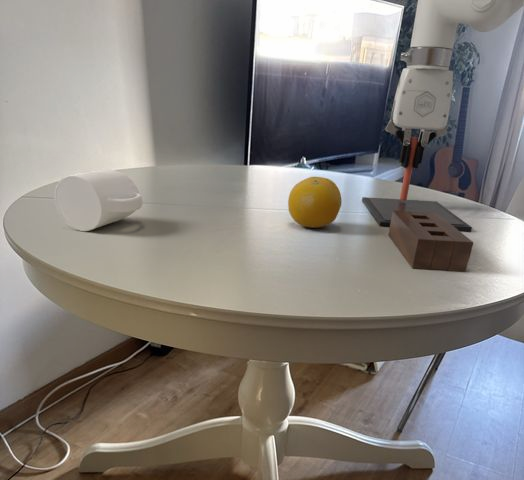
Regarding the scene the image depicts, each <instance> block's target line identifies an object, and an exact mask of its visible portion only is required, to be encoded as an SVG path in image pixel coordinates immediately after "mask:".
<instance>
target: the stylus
mask: <svg viewBox="0 0 524 480" xmlns="http://www.w3.org/2000/svg"><path fill="white" fill-rule="evenodd" d="M418 139H419V136H410V146H411V153H410V158H409V164H408V167H407V168H404V173H403V179H402V184H401V190H400V194H399V195H400V196H399V199H400V200H408V196H409V195H408V194H409V189H410V183H411V179H412V173H413V163H414V158H415V153H416V147H417V142H418Z"/></svg>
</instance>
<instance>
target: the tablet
mask: <svg viewBox="0 0 524 480" xmlns="http://www.w3.org/2000/svg"><path fill="white" fill-rule="evenodd" d="M361 202H362V203H363V205H364V206H365V208H366V209H367V210H368V212H369V213H370V214H371V216H372V217H373V219H374V221H375V222H376V223H377V224H378V226H379V227H385V228H390V223H391V217H392V212H393V211H407V212H425V213H438V214H439V215H440V216H441V217H443V218H444V219H445V220H446V221H447V222H449V223H450V224H451V225H452V226H454V227H455V228H456V229H457V230H459V231H460V232H469V233H470V232H471V233H472V229H473V227H472V225H469V223H467V222H466V221H464V220H463V219H462V218H460V217H459V216H457V215H456V214H454V213H453V212H452V211H450V210H449V209H447V208H446V207H445V206H444V205H442V204H441V203H440V202H438V201H433V200H417V199H407V200H400V198H382V197H369V196H368V197H367V196H365V197H363V196H362V198H361Z"/></svg>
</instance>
